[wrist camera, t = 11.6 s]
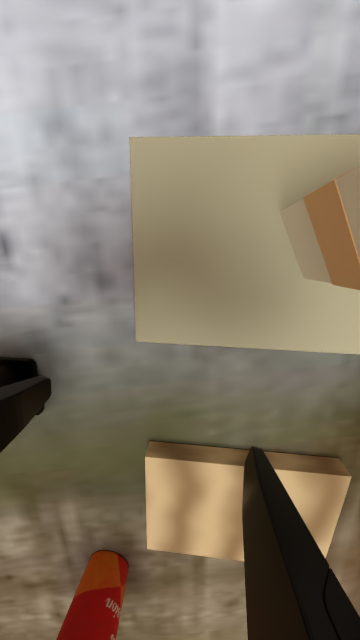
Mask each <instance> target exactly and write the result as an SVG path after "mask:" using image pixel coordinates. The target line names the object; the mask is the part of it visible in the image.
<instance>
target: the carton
mask: <svg viewBox="0 0 360 640" xmlns="http://www.w3.org/2000/svg"><path fill="white" fill-rule="evenodd" d="M280 215H281V217H282V220H283V223H284V226H285V228H286V231H287V234H288V237H289V239H290V242H291V245H292V248H293V250H294V253H295V256H296V259H297V261H298V264H299V267H300V269H301V272H302V275H303V278H305V279H310V280H315V281H321V282H326V283H331V284H332V285H335V286H340V287H345V288H350V289H355V290H360V166H359V167H357V168H355V169H353V170H351V171H349V172H347V173H345V174H343V175H342V176H340V177H338V178H336V179H334V180H332V181H331V182H329V183H327V184H325V185H324V186H322V187H320V188H319V189H317V190H315V191H313V192H312V193H310V194H308V195H307V196H305V197H303V199H302V200H300V201H298V202H296V203H295V204H293V205H291V206H289V207H288V208H286V209H284V210H282V211H281V212H280Z"/></svg>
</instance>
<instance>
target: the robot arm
mask: <svg viewBox="0 0 360 640" xmlns="http://www.w3.org/2000/svg"><path fill="white" fill-rule="evenodd" d="M29 364H30V365H29ZM50 395H51V380H50V378H48V377H45V376H37V370H36V364H35V362H34V361H33V360H32V359H21V358H5V357H0V453H1V452H2V450H3V449H4V448H5V447H6V446H7V445H8V444H9V443H10V442H11V441H12V440H13V439H14V438H15V437H16V436H17V435H18V434H19V433H20V432H21V431H22V430H23V429H24V428H25V427H26V425H27V424H28V423H29V422H30V421H31V419H32V418H33V417H34V416H35V415H40V414H41V413H42V412H43V405H44V404H45V402H46V401H47V400H48V399H49V397H50ZM242 526H243V546H244V567H245V588H246V608H247V629H248V640H360V617H359V615H358V613H357V612H356V610H355V608H354V607H353V605H352V603H351V602H350V600H349V598H348V597H347V595H346V593H345V592H344V590H343V588H342V587H341V585H340V583H339V581H338V580H337V578H336V576H335V574H334V573H333V571H332V569H331V568H329V564H328V562H327V561H326V559H325V557H324V555H323V554H322V552H321V550H320V548H319V547H318V545H317V543H316V541H315V540H314V538H313V536H312V534H311V533H310V531H309V529H308V527H307V526H306V524H305V522H304V521H303V519H302V517H301V515H300V514H299V512H298V510H297V508H296V507H295V505H294V503H293V501H292V500H291V498H290V496H289V494H288V493H287V491H286V489H285V487H284V486H283V484H282V482H281V480H280V479H279V477H278V475H277V473H276V472H275V470H274V468H273V466H272V465H271V463H270V461H269V460H268V458H267V456H266V454H265V453H264V451H263V450H262V449H260V448H257V447H254V446H252V447H251V448H250V450H249V453H248V455H247V457H246V460H245V464H244V479H243V499H242Z"/></svg>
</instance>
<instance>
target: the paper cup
mask: <svg viewBox="0 0 360 640" xmlns="http://www.w3.org/2000/svg"><path fill="white" fill-rule="evenodd" d="M127 573H128V563H127V561H126V560H125V559H124V558H123V557H122V556H121V555H119V554H117V553H115V552H112V551H106V550H103V551H98V552H95V553H94V554H93V555H92V556H91V558H90V560H89V562H88V565H87V567H86V569H85V572H84V574H83V576H82V579H81V581H80V584H79V586H78V588H77V591H76V593H75V596H74V598H73V601H72V603H71V605H70V608H69V610H68V613H67V615H66V618H65V620H64V622H63V625H62V627H61V630H60V632H59V635H58V637H57V640H116V635H117V629H118V624H119V619H120V613H121V608H122V602H123V597H124V591H125V585H126V579H127Z"/></svg>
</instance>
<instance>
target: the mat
mask: <svg viewBox="0 0 360 640" xmlns="http://www.w3.org/2000/svg"><path fill="white" fill-rule="evenodd" d="M359 166H360V134H345V135H270V136H196V137H130V169H131V201H132V233H133V265H134V296H135V328H136V342H152V343H170V344H187V345H205V346H223V347H240V348H258V349H276V350H293V351H311V352H329V353H346V354H360V290H355V289H350V288H345V287H340V286H335V285H332V284H331V283H326V282H321V281H315V280H310V279H305V278H303V275H302V272H301V269H300V267H299V264H298V261H297V259H296V256H295V253H294V250H293V248H292V245H291V242H290V239H289V237H288V234H287V231H286V228H285V226H284V223H283V220H282V217H281V215H280V212H281V211H282V210H284V209H286V208H288V207H289V206H291V205H293V204H295V203H296V202H298V201H300V200H302V199H303V197H305V196H307V195H308V194H310V193H312V192H313V191H315V190H317V189H319V188H320V187H322V186H324V185H325V184H327V183H329V182H331V181H332V180H334V179H336V178H338V177H340V176H342V175H343V174H345V173H347V172H349V171H351V170H353V169H355V168H357V167H359Z"/></svg>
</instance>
